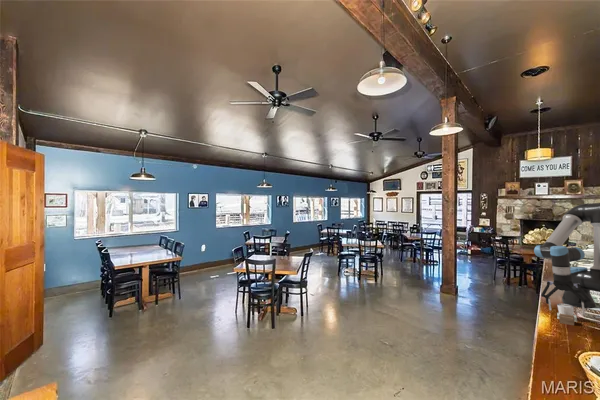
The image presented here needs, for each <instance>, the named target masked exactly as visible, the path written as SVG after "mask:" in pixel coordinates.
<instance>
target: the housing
mask: <svg viewBox="0 0 600 400" xmlns="http://www.w3.org/2000/svg"><path fill="white" fill-rule="evenodd" d="M558 320H559V324H564V325H568V326H569V325H570V326H575V321H574V316H573V315H567V314H560V315H559V319H558Z"/></svg>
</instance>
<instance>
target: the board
mask: <svg viewBox="0 0 600 400" xmlns="http://www.w3.org/2000/svg"><path fill="white" fill-rule="evenodd" d="M556 316H557V318H556V319H558V320H559V312H557V313H556ZM574 322H578V318H577V315H575V314H574Z"/></svg>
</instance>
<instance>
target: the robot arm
mask: <svg viewBox="0 0 600 400" xmlns="http://www.w3.org/2000/svg"><path fill="white" fill-rule="evenodd" d="M586 222H587V223H588V222H589V224H590V225H591V226H592V227H593V265H592V266H591V267H590V268H589V269H588V268H587V267H584V266H573V267H572V266H571V265H570V263H571V262H578V261H582V260H583V259H584V258H585V256H586V253H585V251H584V250H583V249H582V248H580V247H577V246H575V247H573V246H572V247H567V246H564V244H565V242H566V241H567V240H568V239H569V237H570V236H571V234H572V233H573V232H574V230H575V229H576V228H577V226H581V225H582V224H583V223H586ZM533 252H534V255H535V256H536V257H538V258H543V259H550V260H551V268H552V269H551V270H552V273H553V274H552V277H553V281H550V280H547V281H546V286H545V287H544V289H543V290H542V292H541V295H540V297H541V298H544V299H545V304H547V305H548V308H549V311H552V302H551V296H553V294H554V293H556V292H557V291H558V290H559V291H563V294H562V296H561V302H562V304H569V305H572V306H574V307H576V308H581V309H582V315H583V316H584V315H585V316H586V312H585V310H586V309H590V308H596V301H595V300H594V297H593V295H592V294H591V291H594V292H598V293H600V202H591V203H581V204H578V205H576V206H573V207H572V208H570V209H569V210H567V211H566V212H565V213H564V215H563V216H562V220H561V222H560V223H559V224H558V225H557V227H556V228H555V229H554V230H553V231H552V233H551V234H550V236H548V237H547V239H546V241H545V242H544V243H543V244H542V245H540V244H539V245H536V246H535V247H534V249H533ZM552 285H553V286H554V288H552V289H551V290H550V291H549V289H550V286H552ZM547 291H549V292H548V293H547ZM546 293H547V294H546ZM587 307H589V308H587Z"/></svg>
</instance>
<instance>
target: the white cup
mask: <svg viewBox="0 0 600 400" xmlns="http://www.w3.org/2000/svg"><path fill="white" fill-rule="evenodd" d="M556 305H557V310H558V313H559V315H560V314H567V315H573V316H574V315H575V314H574V312H575V311H574V309H575V306H572V305H569V304H565V303H557V304H556Z"/></svg>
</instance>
